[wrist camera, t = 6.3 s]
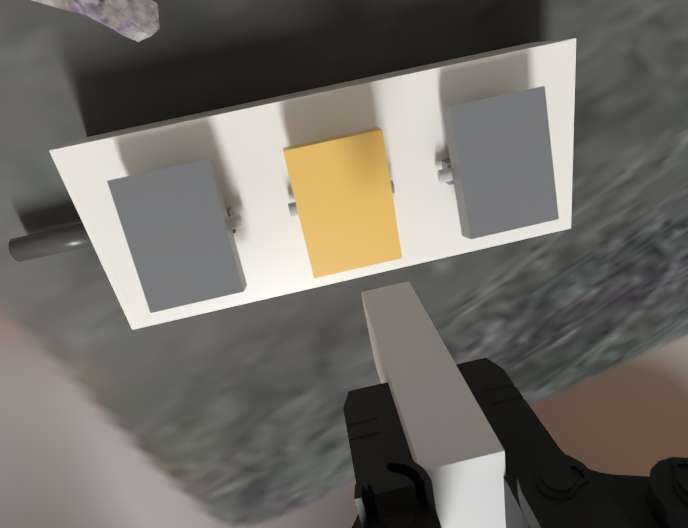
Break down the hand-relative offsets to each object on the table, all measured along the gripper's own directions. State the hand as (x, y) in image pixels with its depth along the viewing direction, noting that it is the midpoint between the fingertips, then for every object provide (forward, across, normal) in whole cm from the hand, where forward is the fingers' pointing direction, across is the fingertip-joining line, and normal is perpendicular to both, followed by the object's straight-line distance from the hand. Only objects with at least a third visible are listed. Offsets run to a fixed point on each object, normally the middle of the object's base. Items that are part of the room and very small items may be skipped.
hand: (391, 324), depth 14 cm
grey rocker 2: (+8, +7, +2) cm, 10 cm away
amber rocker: (+8, 0, +2) cm, 8 cm away
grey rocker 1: (+8, -7, +2) cm, 11 cm away
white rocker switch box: (+12, -3, +2) cm, 13 cm away
